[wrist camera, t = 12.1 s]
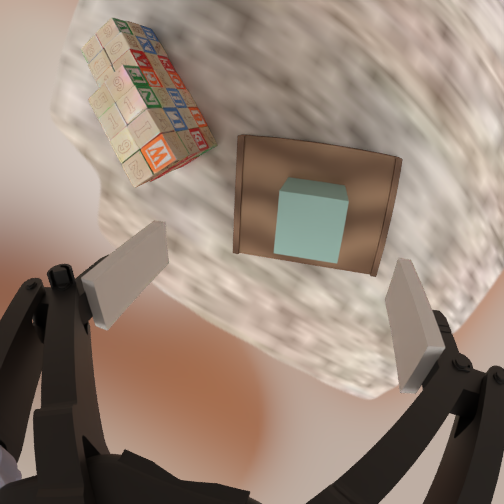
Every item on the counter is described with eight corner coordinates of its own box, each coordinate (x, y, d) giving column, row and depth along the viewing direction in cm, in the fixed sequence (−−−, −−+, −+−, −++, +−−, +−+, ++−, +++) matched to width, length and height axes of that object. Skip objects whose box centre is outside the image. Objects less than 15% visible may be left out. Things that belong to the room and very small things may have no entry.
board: (242, 134, 36) (237, 135, 34) (398, 157, 32) (402, 159, 30) (236, 247, 43) (232, 253, 42) (374, 270, 39) (375, 276, 38)
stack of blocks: (122, 53, 34) (63, 47, 23) (152, 28, 31) (96, 11, 21) (183, 167, 40) (132, 190, 29) (219, 145, 37) (175, 160, 27)
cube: (288, 177, 35) (279, 190, 29) (345, 185, 34) (348, 201, 28) (283, 229, 39) (273, 253, 33) (336, 238, 37) (337, 263, 31)
